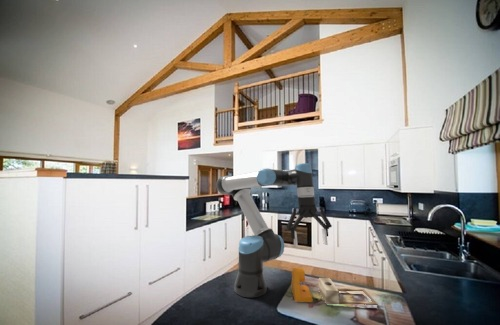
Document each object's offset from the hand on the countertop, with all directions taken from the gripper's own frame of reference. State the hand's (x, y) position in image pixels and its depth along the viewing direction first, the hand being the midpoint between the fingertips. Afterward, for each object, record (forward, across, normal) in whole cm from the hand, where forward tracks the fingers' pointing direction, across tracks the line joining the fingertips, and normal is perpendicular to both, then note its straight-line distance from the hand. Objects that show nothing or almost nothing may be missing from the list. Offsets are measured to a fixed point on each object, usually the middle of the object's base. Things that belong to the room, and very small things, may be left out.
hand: (310, 245), depth 91 cm
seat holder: (+23, +14, +1) cm, 27 cm away
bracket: (+22, -5, +4) cm, 23 cm away
